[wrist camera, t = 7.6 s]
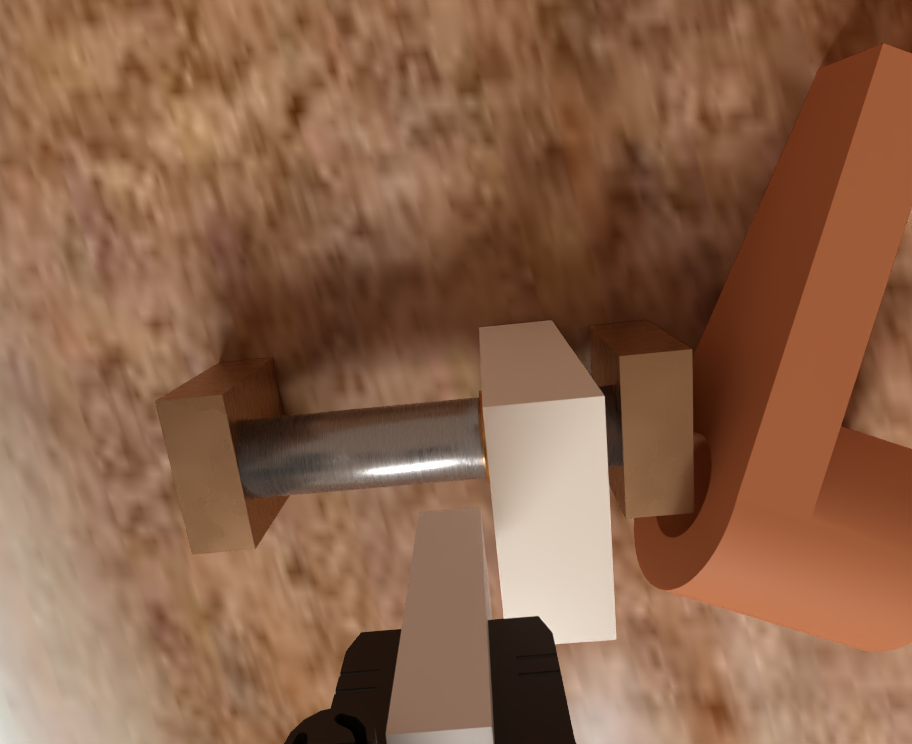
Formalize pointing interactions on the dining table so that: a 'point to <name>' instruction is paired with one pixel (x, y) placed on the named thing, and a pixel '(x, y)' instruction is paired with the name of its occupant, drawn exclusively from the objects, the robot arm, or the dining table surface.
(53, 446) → the dining table surface
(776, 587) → the crank
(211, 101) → the dining table surface
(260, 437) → the pipe rig
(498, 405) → the sleeve
